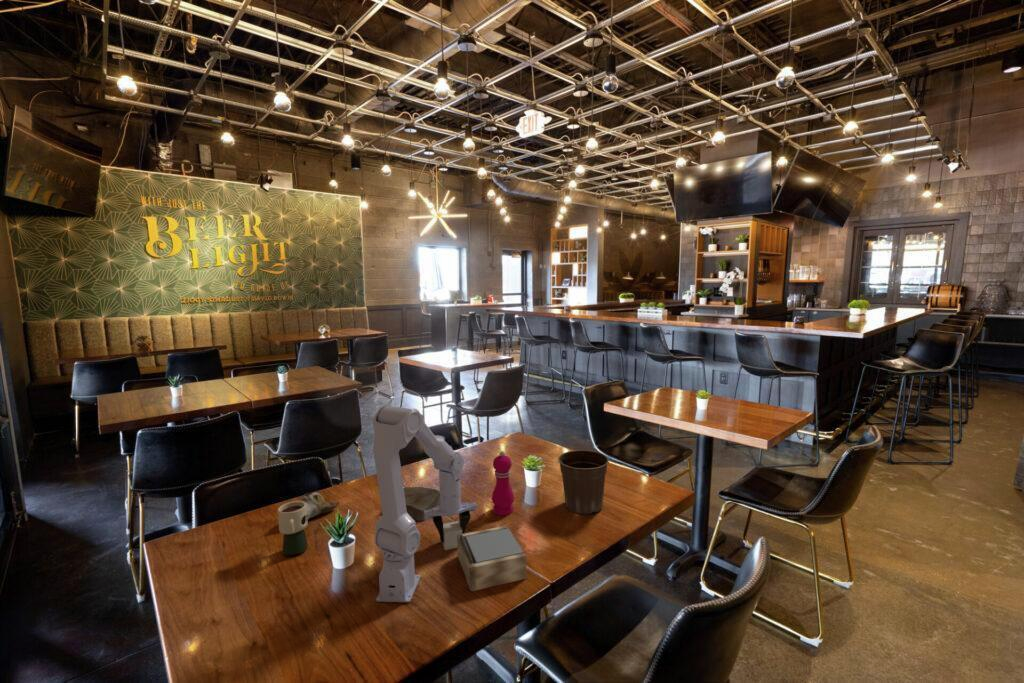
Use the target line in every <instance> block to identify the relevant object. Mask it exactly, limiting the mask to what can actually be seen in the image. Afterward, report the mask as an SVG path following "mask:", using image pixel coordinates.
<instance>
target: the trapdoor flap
mask: <svg viewBox="0 0 1024 683" xmlns="http://www.w3.org/2000/svg"><path fill="white" fill-rule="evenodd" d="M466 542H467V544H468V546H469V549H470V551H471V554H472V556H471V557H472V559H473V562H474V564H476V563H481V562H485V561H490V560H494V559H499V558H504V557H508V556H513V555H518V554H522V553H524V551H523V549H522V547H521V545H520V544H519V542H518V541H517V539H516V538H515V536H514V534H513V532H512V531H511V530H510V528H509V527H508V529H502V530H497V531H492V532H487V533H482V534H477V535H472V536H467V537H466ZM524 554H525V553H524Z"/></svg>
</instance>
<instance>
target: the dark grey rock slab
mask: <svg viewBox="0 0 1024 683" xmlns="http://www.w3.org/2000/svg"><path fill="white" fill-rule="evenodd" d="M403 487H404V486H403ZM404 495H405V502H406V510H407V513H408V514H409V515H410V516H411V518H412V519H413V520H414V521H418V522H419V521H420V522H424V521H426V520H425V516H424V511H426V510H430V509H433V508H436V506H437V504H438V503H440V490H438V489H433V488H432V487H431V488H430V487H429V488H428V487H423V486H411V487H410V486H409V487H408V486H407V487H406V486H405V487H404Z"/></svg>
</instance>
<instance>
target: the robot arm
mask: <svg viewBox="0 0 1024 683" xmlns="http://www.w3.org/2000/svg"><path fill="white" fill-rule="evenodd" d="M424 420H425V418H424V415H423V414H422V413H421V412H420V411H419V410H418V409H417V408H407V407H400V406H394V405H390V404H384V405H381V406H380V407H379V408H378V410H377V411H376V414H375V415H374V417H373V418H372V425H373V427H372V428H373V434H374V438H373V444H372V452H373V458H374V459H373V460H374V467H375V471H376V472H375V473H376V480H377V486H378V494H379V500H380V506H381V507H380V508H381V514H382V515H381V516H380V517H379V518H378V519H377V521H376V522H375V534H374V544H375V546H376V547H377V548H379V549H380V550H379V552H380V554H382V568H381V570H380V573H379V575H378V586H379V587H378V588H379V593H378V595H377V596H376V598H375V601H376V602H378V603H379V602H380V603H381V602H384V603H410V602H411V600H412V598H413V596H414V593H415V592H416V591H415V590H416V589H417V586H418V583H419V581H420V578H421V575H420V574H416V572H415V571H416V570H415V553H416V552H417V551H418V549H419V548H420V544H421V533H420V531H419V529H418V528H417V524H416V523H417V522H416V520H413V519H412V518H411V516H410V515H409V514H408V513H407V510H406V502H405V495H404V481H403V474H402V473H403V472H402V467H401V459H400V450H402V449H404V448H406V447H407V446H408V444H409V443H410V442H411V441H412V440H413V438H415V439H416V440H418V441H419V442H420V443H421V444H422V445H423V451H424V453H425V454H426V455H427V456H428V457H429V459H431V461H432V462H433V467H434V469H435V470H436V471H437V470H438V476H439V477H438V480H439V491H440V499H439V503H440V504H439V506H435V507H434V508H433V509H430V510H426V511H424V516H425V520H424V521H430V519H432V522H433V524H434V526H435V528H436V530H437V532H438V534H439V539H440V542H441V543H442V544H443V542H444V536H443V524H444V521H443V517H449V516H451V517H452V516H456V515H458V517H459V520H458V521H459V524H460V526H461V528H462V534H465V533H466V528H467V526H468V524H469V522H470V519H471V513H470V512H474V513H475V512H478V506H477V505H478V504H477V503H476V502H475V501H474V502H462V499H461V498H462V495H461V494H462V492H461V477H462V475H463V473H462V472H463V468H464V463H465V459H464V458H463V456H462V455H461V453H460V452H458V451H455V450H454V449H453V447H452V446H451V445H449V444H448V442H446V440H445V439H446V438H445V437H444V436H443V435H435V434H434V433H433V431H432V430H431V429H430V428H429V426H428V425H427V424H426V422H425V421H424Z"/></svg>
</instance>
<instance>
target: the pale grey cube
mask: <svg viewBox="0 0 1024 683" xmlns="http://www.w3.org/2000/svg"><path fill="white" fill-rule="evenodd" d="M460 534H462V528H461V526H460V520H457V521H456V520H455V521H451V522H446V523H443V536H444V542H443V543H442V545H443V546H442V547H443V548H444V551H447V550H452V549H458V545H457V535H460Z"/></svg>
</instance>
